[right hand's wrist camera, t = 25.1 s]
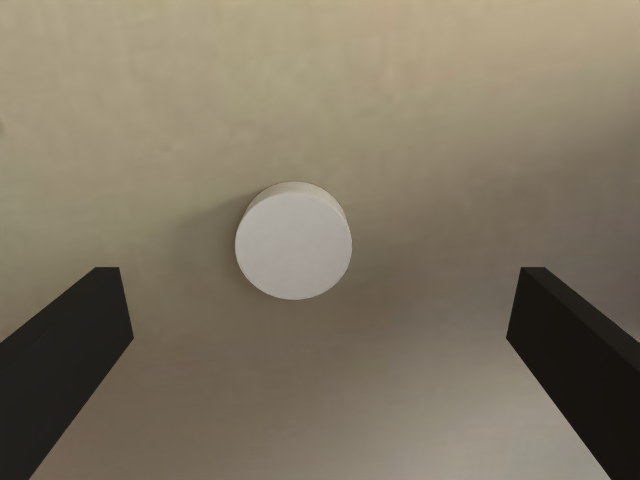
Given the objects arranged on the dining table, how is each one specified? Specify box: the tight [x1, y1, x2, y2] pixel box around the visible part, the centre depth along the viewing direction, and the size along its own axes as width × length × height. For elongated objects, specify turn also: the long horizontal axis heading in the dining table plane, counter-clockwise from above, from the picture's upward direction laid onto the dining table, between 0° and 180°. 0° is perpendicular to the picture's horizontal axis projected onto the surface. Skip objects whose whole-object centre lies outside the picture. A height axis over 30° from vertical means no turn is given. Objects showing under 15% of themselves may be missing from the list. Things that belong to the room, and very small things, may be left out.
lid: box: [235, 181, 352, 300], centre depth 17 cm, size 5×5×2 cm
